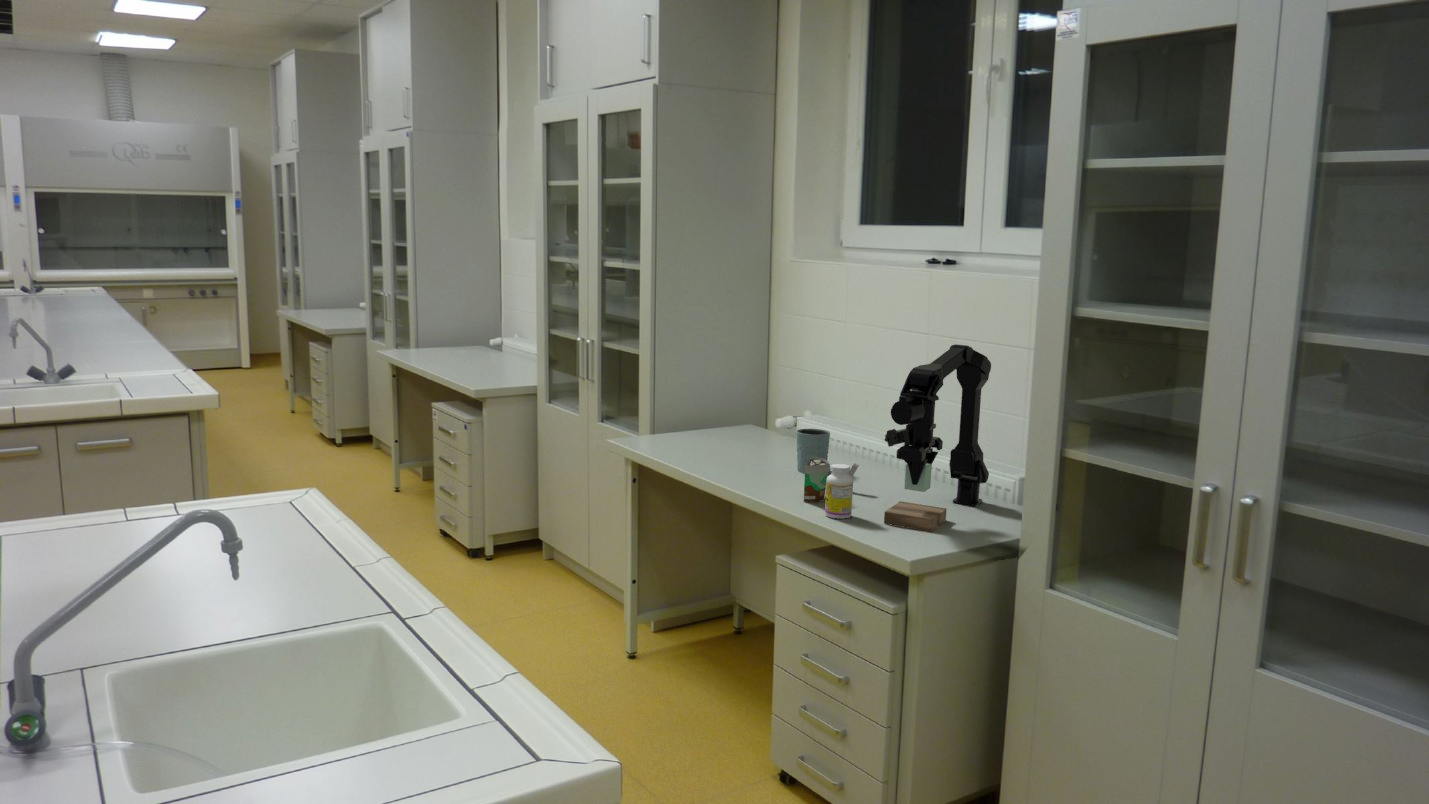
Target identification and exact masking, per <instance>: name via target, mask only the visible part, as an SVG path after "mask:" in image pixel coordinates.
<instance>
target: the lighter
mask: <svg viewBox="0 0 1429 804" xmlns="http://www.w3.org/2000/svg"><path fill="white" fill-rule="evenodd" d="M859 466H860V465H859V464H857V463H856V462H854V463H853V465H852V467H850V471H849V475H850V476H851V477H852V478H853V477H854V475H855V473H856V472H857V470H858V468H859Z"/></svg>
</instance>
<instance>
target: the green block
mask: <svg viewBox="0 0 1429 804" xmlns="http://www.w3.org/2000/svg"><path fill="white" fill-rule="evenodd" d="M932 466H933V463H932V464H928V463H926V465H925V467H924V470H923V472H922V474H921V477H920V479H919V481H918V484H917V485H913V484H912V480H911V476H910V471H909V467H908V464H907V463H906V465H905V472H904V488H903V489H904V490H908V491H915V492H922V493H926V491H928V490H930V489H931V482H932V481H931V479H932Z"/></svg>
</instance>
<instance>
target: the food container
mask: <svg viewBox="0 0 1429 804" xmlns="http://www.w3.org/2000/svg"><path fill="white" fill-rule="evenodd" d="M830 471H831V464H830V463H829V461H828V459H827V460H825V459H822V458H817V457H810V461H809V462H808V465H807V466H806V465H805V473H804V486H803V487H804V488H803V503H817V502H822V501H824V500H825V499H826V481H827V477H828V474H829V473H830Z"/></svg>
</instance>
